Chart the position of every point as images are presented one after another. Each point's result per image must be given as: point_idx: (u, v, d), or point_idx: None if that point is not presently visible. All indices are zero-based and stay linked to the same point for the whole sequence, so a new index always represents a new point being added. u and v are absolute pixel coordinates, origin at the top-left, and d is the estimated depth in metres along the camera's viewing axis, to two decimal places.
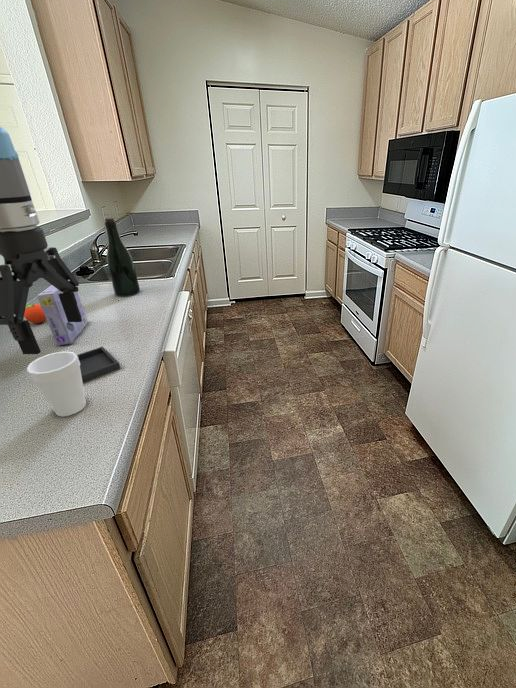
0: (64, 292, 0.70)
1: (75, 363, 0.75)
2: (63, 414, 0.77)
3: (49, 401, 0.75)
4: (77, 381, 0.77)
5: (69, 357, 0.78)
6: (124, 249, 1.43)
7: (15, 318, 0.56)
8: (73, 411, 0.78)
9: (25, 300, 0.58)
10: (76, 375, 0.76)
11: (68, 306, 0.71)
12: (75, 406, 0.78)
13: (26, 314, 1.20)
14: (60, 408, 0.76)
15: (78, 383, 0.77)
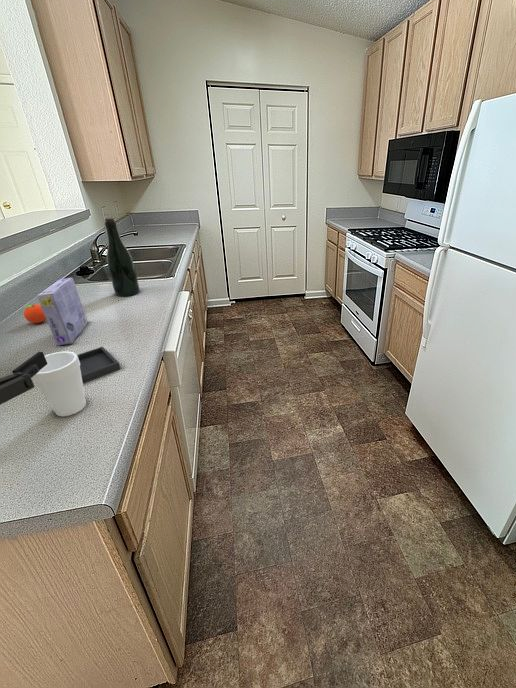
0: None
1: (75, 363, 0.75)
2: (63, 414, 0.77)
3: (49, 401, 0.75)
4: (77, 381, 0.77)
5: (69, 357, 0.78)
6: (124, 249, 1.43)
7: None
8: (73, 411, 0.78)
9: None
10: (76, 375, 0.76)
11: None
12: (75, 406, 0.78)
13: (26, 314, 1.20)
14: (60, 408, 0.76)
15: (78, 383, 0.77)
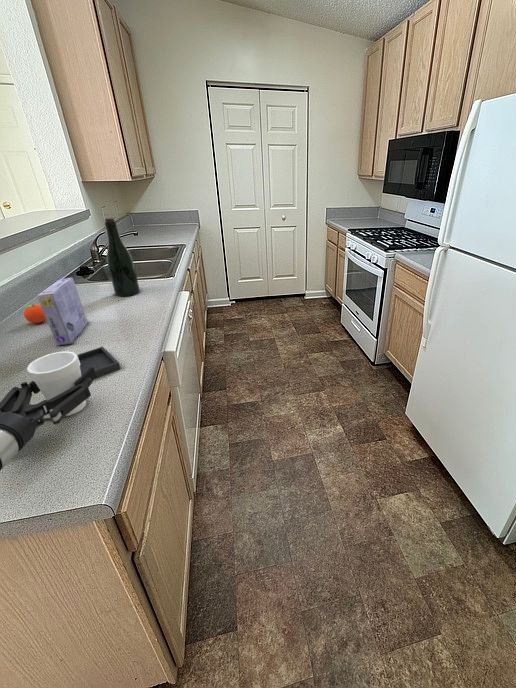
0: None
1: (75, 363, 0.75)
2: None
3: None
4: None
5: (69, 357, 0.78)
6: (124, 249, 1.43)
7: None
8: (73, 411, 0.78)
9: (27, 403, 0.72)
10: (76, 375, 0.76)
11: None
12: None
13: (26, 314, 1.20)
14: None
15: None
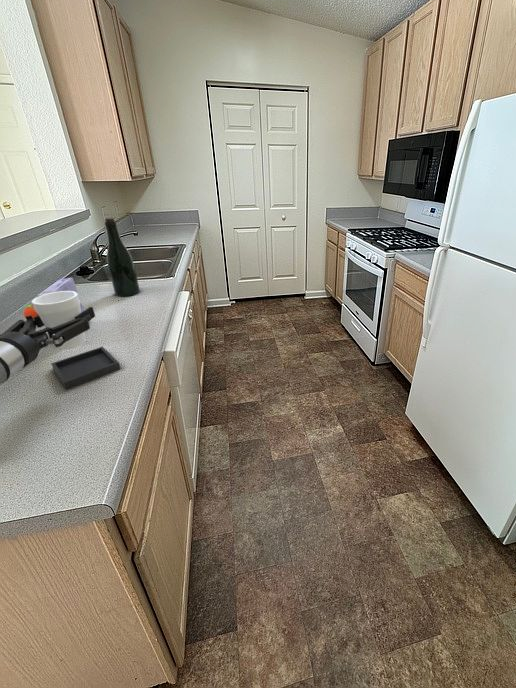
0: None
1: (75, 299, 0.82)
2: (64, 347, 0.84)
3: None
4: None
5: (70, 296, 0.85)
6: (124, 249, 1.43)
7: None
8: (74, 345, 0.85)
9: None
10: (76, 310, 0.83)
11: None
12: (75, 340, 0.84)
13: (26, 314, 1.20)
14: None
15: None
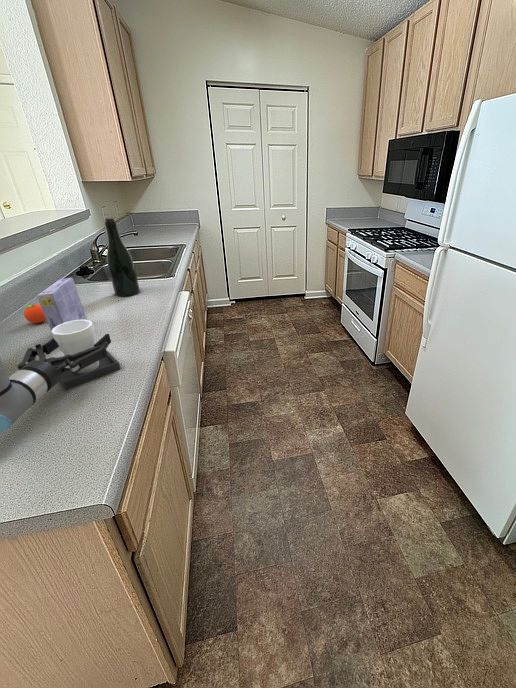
0: None
1: (91, 328, 0.90)
2: (80, 371, 0.92)
3: None
4: (92, 343, 0.91)
5: (85, 324, 0.93)
6: (124, 249, 1.43)
7: None
8: (89, 369, 0.93)
9: None
10: (91, 338, 0.91)
11: None
12: (90, 365, 0.93)
13: (26, 314, 1.20)
14: None
15: (93, 345, 0.92)
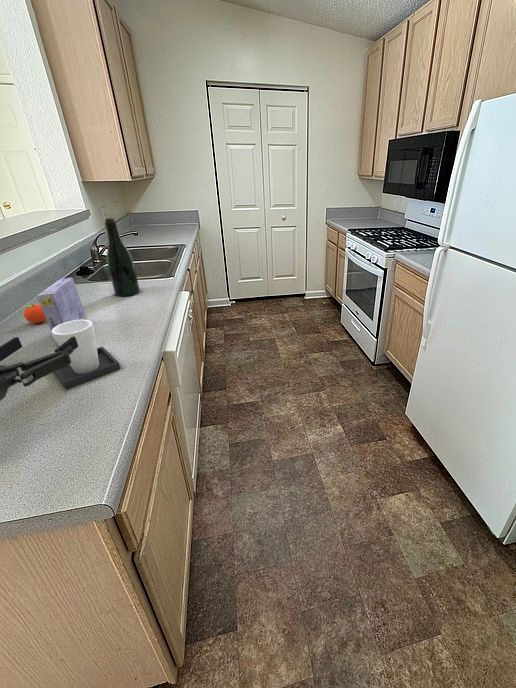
0: None
1: (91, 328, 0.90)
2: (80, 371, 0.92)
3: None
4: (92, 343, 0.91)
5: (85, 324, 0.93)
6: (124, 249, 1.43)
7: None
8: (89, 369, 0.93)
9: None
10: (91, 338, 0.91)
11: None
12: (90, 365, 0.93)
13: (26, 314, 1.20)
14: (78, 366, 0.91)
15: (93, 345, 0.92)
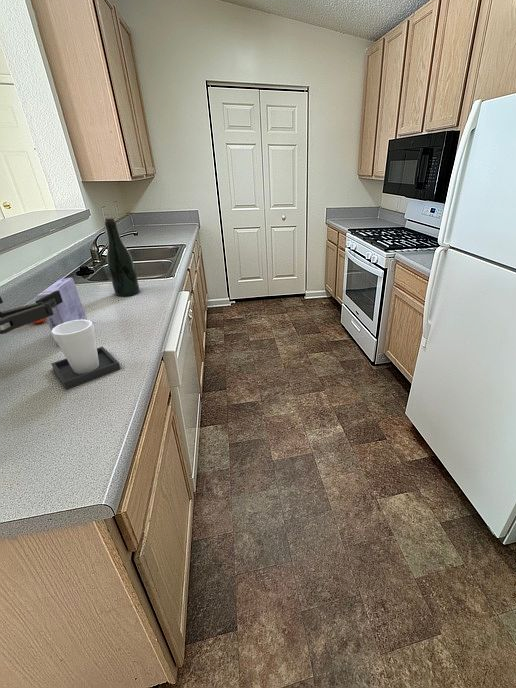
0: None
1: (91, 328, 0.90)
2: (80, 371, 0.92)
3: (69, 360, 0.90)
4: (92, 343, 0.91)
5: (85, 324, 0.93)
6: (124, 249, 1.43)
7: None
8: (89, 369, 0.93)
9: None
10: (91, 338, 0.91)
11: None
12: (90, 365, 0.93)
13: None
14: (78, 366, 0.91)
15: (93, 345, 0.92)
